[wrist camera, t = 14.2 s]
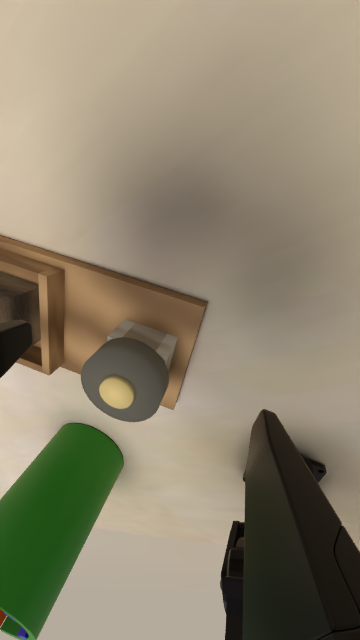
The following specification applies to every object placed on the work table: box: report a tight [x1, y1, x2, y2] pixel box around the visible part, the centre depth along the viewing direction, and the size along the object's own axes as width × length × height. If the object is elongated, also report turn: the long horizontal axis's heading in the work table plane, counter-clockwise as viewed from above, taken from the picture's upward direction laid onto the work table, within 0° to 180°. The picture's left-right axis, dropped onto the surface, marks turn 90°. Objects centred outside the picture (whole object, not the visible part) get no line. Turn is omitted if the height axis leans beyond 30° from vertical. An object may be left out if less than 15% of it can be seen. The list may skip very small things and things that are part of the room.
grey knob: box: [81, 337, 169, 422], centre depth 21 cm, size 6×6×6 cm
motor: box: [0, 423, 123, 640], centre depth 26 cm, size 10×9×20 cm
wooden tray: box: [0, 235, 207, 410], centre depth 24 cm, size 12×23×4 cm, turn 76°
